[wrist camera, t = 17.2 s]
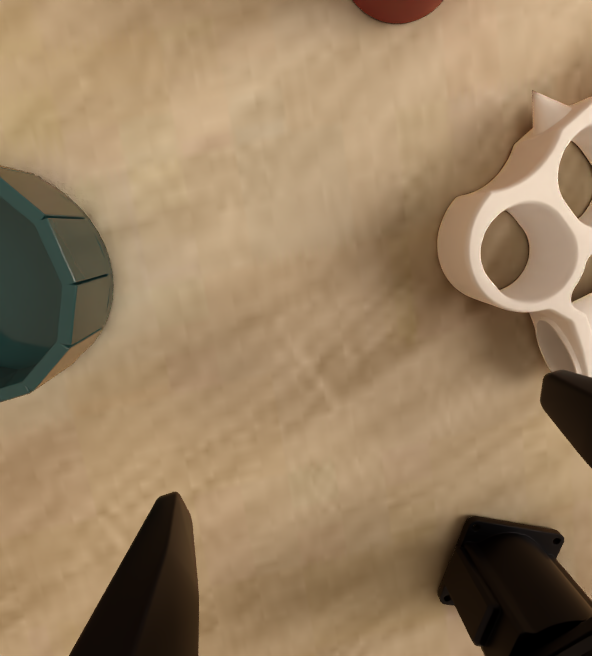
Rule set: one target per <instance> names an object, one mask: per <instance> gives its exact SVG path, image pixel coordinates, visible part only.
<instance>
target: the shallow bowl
mask: <svg viewBox="0 0 592 656" xmlns="http://www.w3.org/2000/svg"><path fill="white" fill-rule="evenodd" d="M112 299H113V275H112V269H111V264H110V260H109V257H108V254H107V251H106V248H105V245H104V243H103V241H102V239H101V237H100V235H99V233H98V231H97V230H96V228H95V227H94V225H93V224H92V222H91V221H90V219H89V218H88V217H87V216H86V215H85V213H84V212H83V211H82V210H81V209H80V208H79V207H78V206H77V205H76V204H75V203H74V202H73V201H72V200H71V199H70V198H69V197H68V196H66V195H65V194H64V193H63V192H61V191H60V190H59V189H57V188H56V187H54V186H52V185H51V184H49V183H47V182H46V181H44V180H43V179H41V178H40V177H39V176H35V174H32V173H28V172H24V171H20V170H16V169H13V168H8V167H4V166H0V402H3V401H7V400H10V399H13V398H16V397H20V396H23V395H26V394H30V393H31V392H32V391H34V390H36V389H37V388H39V387H40V386H42V385H43V384H45V383H46V382H47V381H49V380H50V379H52V378H53V377H55V376H56V375H58V374H59V373H61V372H62V371H63V370H65V369H66V368H68V367H69V366H71V365H72V364H73V363H74V362H75V361H76V360H77V359H78V358H79V356H80V355H81V354H82V353H84V352H85V351H86V350H87V349H88V348H89V347H90V346H91V345H92V344H93V343H94V341H95V340H96V339H97V337H98V336H99V335H100V333H101V331H102V330H103V328H104V326H105V324H106V321H107V319H108V316H109V313H110V309H111V304H112Z"/></svg>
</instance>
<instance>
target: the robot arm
mask: <svg viewBox="0 0 592 656" xmlns="http://www.w3.org/2000/svg"><path fill="white" fill-rule="evenodd" d="M540 402H541V405H542V407H543V409H544V411H545V412H546V413H547V414H548V416H549V417H550V418H551V419H552V421H553V422H554V423H555V424H556V426H557V427H558V428H559V429H560V431H561V432H562V433H563V434H564V436H565V437H566V438H567V439H568V441H569V442H570V443H571V444H572V446H573V447H574V448H575V449H576V451H577V452H578V453H579V454H580V456H581V457H582V458H583V459H584V460H585V461H586V463H587V464H588V465H589V466H590V467H591V468H592V377H588V376H585V375H581V374H577V373H574V372H570V371H567V370H557V371H554V372H551V373H548V374H546V375H545V376H544V378H543V383H542V389H541V396H540ZM474 525H475V526H474ZM563 543H564V537H563V536H562V535H561V534H560V533H559V532H558V531H557V530H553V529H547V528H541V527H535V526H529V525H524V524H518V523H512V522H506V521H500V520H494V519H488V518H482V517H477V516H472V517H470V518H468V519H467V521H466V522H465V525H464V527H463V530H462V532H461V535H460V537H459V540H458V542H457V545H456V547H455V550H454V552H453V555H452V557H451V560H450V562H449V565H448V567H447V570H446V572H445V575H444V577H443V580H442V583H441V585H440V588H439V590H438V597H439V599H440V601H441V602H442V603H443V604H447V605H454V606H455V607H456V609H457V611H458V613H459V615H460V617H461V619H462V621H463V623H464V625H465V627H466V629H467V632H468V634H469V636H470V638H471V640H472V641H473V643H474V644H475V645H476V646H480V647H481V649H482V651H483V653H484V655H485V656H592V601H591V600H590V598H589V597H588V596H587V595H586V594H585V593H584V591H583V590H582V589H581V588H580V587H579V586H578V584H577V583H576V582H575V581H574V580H573V578H572V577H571V576H570V575H569V574H568V573H567V571H566V570H565V569H564V568H563V567H562V566H561V564H560V563H559V562H558V561H557V560H556V557H557V555H558V553H559V551H560V549H561V547H562V545H563ZM198 640H199V591H198V579H197V568H196V557H195V546H194V535H193V525H192V519H191V515H190V513H189V511H188V509H187V507H186V505H185V503H184V501H183V500H182V498H181V496H180V494H179V493H178V492H172V493H169V494H166V495H163V496H160V497H159V498H158V499H157V500H156V502H155V504H154V505H153V507H152V509H151V511H150V513H149V514H148V516H147V518H146V520H145V521H144V523H143V525H142V527H141V529H140V530H139V532H138V534H137V536H136V537H135V539H134V541H133V543H132V545H131V546H130V548H129V550H128V552H127V553H126V555H125V557H124V559H123V561H122V562H121V564H120V566H119V568H118V569H117V571H116V573H115V575H114V576H113V578H112V580H111V582H110V584H109V585H108V587H107V589H106V591H105V592H104V594H103V596H102V598H101V600H100V601H99V603H98V605H97V607H96V608H95V610H94V612H93V614H92V616H91V617H90V619H89V621H88V623H87V624H86V626H85V628H84V630H83V632H82V633H81V635H80V637H79V639H78V640H77V642H76V644H75V646H74V647H73V649H72V651H71V653H70V655H69V656H198Z"/></svg>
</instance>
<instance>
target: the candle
mask: <svg viewBox="0 0 592 656" xmlns="http://www.w3.org/2000/svg"><path fill="white" fill-rule="evenodd" d="M353 1H354V3H355V4H356V5H357V6H358V7H359V8H360V9H361V10H362V11H363V12H365V13H366V14H368V15H369V16H371V17H373V18H375V19H377V20H380V21H383V22H387V23H407V22H412V21H415V20H418V19H420V18H422V17H424V16H426V15H427V14H429V13H430V12H432V11H433V10H434V9H435V8H436V7H438V6H439V5H440V4H441V2H442V1H443V0H353Z"/></svg>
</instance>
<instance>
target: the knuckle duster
mask: <svg viewBox="0 0 592 656" xmlns="http://www.w3.org/2000/svg"><path fill="white" fill-rule="evenodd" d="M532 102H533V128H532V129H531V130H530V131H529V132H527V133H526V134H525V135H524V136H523V137H522V138H521V139H520V140H519V141H517V142H516V143H515V144H514V146H513V149H512V151H511V154H510V156H509V158H508V160H507V162H506V164H505V165H504V167H503V168H502V170H501V171H500V172H499V173H498V175H497V176H496V177H495V178H494V179H493V180H492V181H490V182H489V183H488V184H487V185H485V186H484V187H482V188H481V189H479V190H477V191H475V192H472V193H469V194H466V195H461V196H457V197H456V198H455V199H454V200H453V202H452V203H451V204H450V206H449V207H448V209H447V211H446V213H445V215H444V217H443V219H442V222H441V225H440V228H439V232H438V239H437V251H438V258H439V262H440V265H441V268H442V270H443V272H444V274H445V276H446V278H447V279H448V280H449V282H450V283H451V284H452V285H453V286H454V287H455V288H456V289H457V290H459V291H460V292H461V293H463V294H465V295H466V296H468V297H471V298H473V299H476V300H479V301H482V302H485V303H487V304H490V305H493V306H496V307H499V308H501V309H504V310H508V311H513V312H529V313H530V316H531V319H532V322H533V324H534V327H535V331H536V338H537V342H538V346H539V349H540V351H541V354H542V356H543V358H544V360H545V362H546V364H547V366H548V368H549V370H550V371H551V372H554V371H557V370H567V371H570V372H574V373H577V374H581V375H585V376H588V377H592V293H590V294H588V295H586V296H584V297H582V298H580V299H578V300H576V301H574V302H572V303H571V295H572V291H573V289H574V288H575V286H576V285H577V283H578V282H579V280H580V278H581V276H582V274H583V271H584V268H585V265H586V262H587V260H588V258H589V257H590V255H591V254H592V201H591V203H590V205H589V206H588V208H587V210H586V211H585V212H584V213H583V215H582V216H581V217H580V218H577V217H576V216H575V215H574V213H573V212H572V211H571V209H570V208H569V207H568V205H567V204H566V202H565V201H564V199H563V198H562V195H561V193H560V190H559V185H558V169H559V164H560V160H561V157H562V155H563V153H564V151H565V149H566V147H567V145H568V144H569V143H570V141H572V142H574V143H575V144H576V145H577V146H578V147H579V148H580V149H581V150H582V152H583V153H584V155H585V156H586V158H587V159H588V160H589V162H590V164H591V165H592V96H591V97H588V98H586V99H584V100H581V101H579V102H576V103H574V104H571V105H569V106H568V105H566V104H563V103H561V102H558V101H556V100H554V99H551V98H549V97H547V96H544V95H542V94H540V93H537V92H535V91H533V90H532ZM504 210H505V211H507V212H509V213H510V214H511V215H512V216H513V217H514V218H515V220H516V221H517V222H518V224H519V225H520V226H521V227H522V229H523V230H524V231H525V233H526V235H527V238H528V241H529V258H528V262H527V265H526V267H525V269H524V271H523V272H522V274H521V275H520V276H519V278H518V279H517V280H516V281H514V282H513V283H512V284H511V285H509V286H507V287H505V288H503V289H501V290H499V289H498V288H497V287H496V286H495V285H494V283H493V282H492V281H491V280H490V279H489V277H488V276H487V275H486V273H485V271H484V269H483V266H482V263H481V244H482V240H483V237H484V234H485V232H486V230H487V228H488V226H489V225H490V224H491V222H492V221H493V220H494V219H495V218H496V217H497V216H498V215H499V214H500V213H501V212H503V211H504Z"/></svg>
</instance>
